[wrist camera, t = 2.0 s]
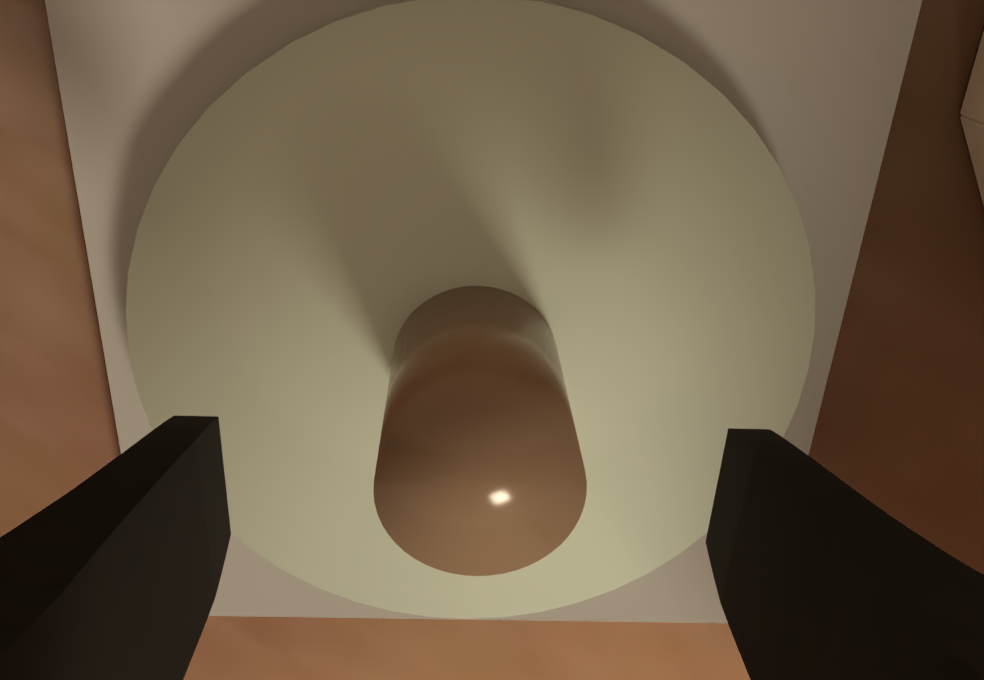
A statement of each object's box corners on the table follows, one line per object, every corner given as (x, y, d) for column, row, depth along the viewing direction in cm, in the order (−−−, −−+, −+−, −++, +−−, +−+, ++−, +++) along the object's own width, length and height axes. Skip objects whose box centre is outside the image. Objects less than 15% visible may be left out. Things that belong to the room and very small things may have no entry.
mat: (758, 605, 20) (766, 623, 20) (156, 596, 20) (147, 614, 19) (914, -41, 14) (932, -40, 14) (46, -87, 14) (30, -87, 13)
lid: (739, 595, 19) (819, 787, 15) (181, 589, 19) (99, 789, 14) (868, 10, 14) (1050, 49, 10) (90, -26, 13) (-85, 1, 9)
